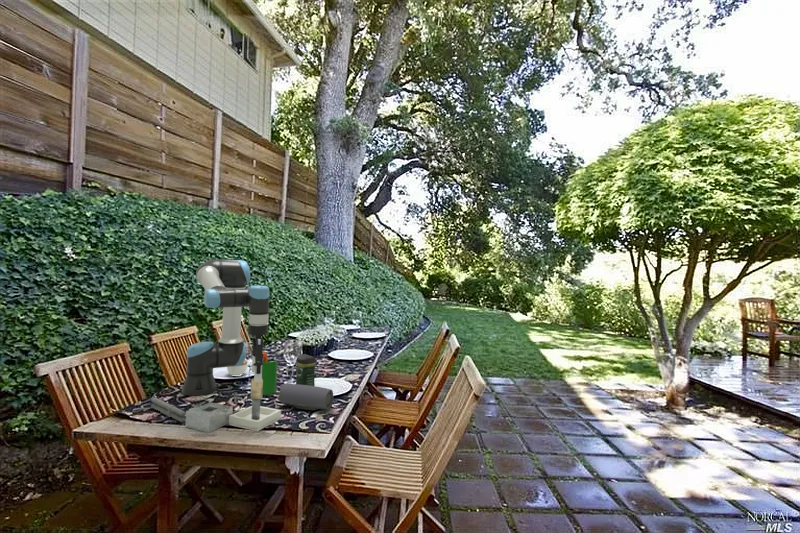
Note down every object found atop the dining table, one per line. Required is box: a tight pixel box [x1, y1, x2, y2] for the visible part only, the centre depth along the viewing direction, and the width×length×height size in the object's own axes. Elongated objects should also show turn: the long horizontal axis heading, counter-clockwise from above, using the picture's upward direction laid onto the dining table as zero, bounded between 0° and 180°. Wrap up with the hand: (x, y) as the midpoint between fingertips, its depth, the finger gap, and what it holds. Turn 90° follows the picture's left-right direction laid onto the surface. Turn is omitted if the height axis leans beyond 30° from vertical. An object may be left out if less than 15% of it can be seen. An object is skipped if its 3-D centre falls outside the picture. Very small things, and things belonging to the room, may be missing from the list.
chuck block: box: [185, 401, 234, 433], centre depth 161 cm, size 12×12×6 cm
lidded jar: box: [226, 359, 248, 376], centre depth 229 cm, size 11×11×9 cm
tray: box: [228, 405, 282, 432], centre depth 165 cm, size 14×14×4 cm
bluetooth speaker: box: [278, 383, 335, 411], centre depth 182 cm, size 23×9×10 cm, turn 74°
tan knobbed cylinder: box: [250, 378, 263, 420], centre depth 165 cm, size 4×4×16 cm
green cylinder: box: [259, 352, 278, 396], centre depth 202 cm, size 10×9×20 cm
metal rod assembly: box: [150, 396, 186, 423], centre depth 169 cm, size 26×3×5 cm, turn 54°
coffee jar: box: [295, 353, 316, 386], centre depth 204 cm, size 10×8×19 cm
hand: (256, 376), depth 165 cm, fingers open, 13 cm apart
